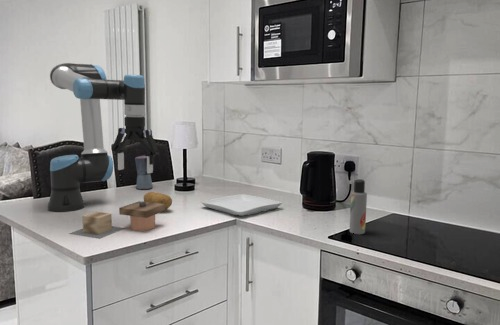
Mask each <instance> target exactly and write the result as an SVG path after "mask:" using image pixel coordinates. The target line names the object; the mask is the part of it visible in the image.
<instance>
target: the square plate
mask: <svg viewBox="0 0 500 325" xmlns="http://www.w3.org/2000/svg"><path fill="white" fill-rule="evenodd" d="M200 203H201V205H203V206H204V207H206V208H208V209H212V210H216V211H219V212H223V213H225V214H229V215H234V216H237V215H239V217H241V216H242V217H243V216H244V215H246V216H250V215H254V214H253V213H255V214H258V213H257V212H259V213H262V212H261V211H263V212H266V211H265V210H267V211H270V210H272V209H276V208H278V207H280V206H281V205H282V204H283V202H282V201H278V200H275V199H270V198H266V197H262V196H255V195H249V194H243V193H242V194H241V193H239V194H234V195H227V196H221V197H215V198H212V199H206V200H202V201H200ZM269 209H270V210H269ZM249 214H250V215H249ZM244 217H245V216H244Z"/></svg>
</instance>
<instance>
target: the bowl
mask: <svg viewBox="0 0 500 325" xmlns="http://www.w3.org/2000/svg"><path fill="white" fill-rule="evenodd" d="M129 218H130V222H129V224H130V229H131V230H134V231H148V230H153V229H154V228H156V225H157V224H156V214H155V215H153V216H150V217H148V218H143V217H135V216H129Z"/></svg>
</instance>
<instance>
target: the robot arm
mask: <svg viewBox="0 0 500 325" xmlns="http://www.w3.org/2000/svg"><path fill="white" fill-rule="evenodd" d="M49 78H50V79H49V80H50V81H51V82H50V83H51V84H53V86H54V87H56V88H58V89H59V90H68V91H70V92H72V93H73V95H74V96H75V98H76V99H79V102H80V113H81V124H82V125H81V126H82V127H81V128H82V139H83V141H82V142H83V151H82V152H81V153H80V154H81V155H80V157H79V155H77V154H67V155H62V156H61V155H60V156H56V157H54V158H52V159H50V163H49V164H50V165H49V171H50V189H51V191H50V197H49V201H48V203H47V210H48V211H50V212H60V213H61V212H72V211H77V210H81V209H83V208H85V201H84V199H83V195H82V192H81V189H80V185H81V184H86V183H87V184H88V183H97V182H104V181H108V180H109V179H110V178H111V176H112V175H113V171H114V160H113V158H112V156H111V155H109V154H108V151H107V150H106V149H105V148H104V136H103V123H102V110H101V108H102V107H101V100H115V101H116V100H117V101H120V100H122V101H123V107H124V109H123V110H124V115H125V116H124V121H123V122H124V127H119V128H118V129H117V135H116V138H115V140H114V143H113V145H112V147H111V151H112V152H115V153H116V156H115V157H116V159H115V160H116V162H117V170H118V171H122V170H124V169H125V154H124V153H125V152H123V151H124V150H125V149H126V147H127V145H128V144H129V143H130V141H133V142H134V141H135V142H136V141H137V142H138V143H140V145H141V146H142V147H143V149H144V150H145V152H146V153H147V173H150V174H152V173H154V172H153V171H154V165H155V156H157V155H160V152H159V149H158V147H157V144H156V142H155V139H154V136H153V131H152V129H145V126H146V118H145V115H146V107H145V106H146V104H145V102H146V101H145V100H146V98H145V94H146V92H145V91H146V85H145V84H146V83H145V76H144V75H141V74H125V75H124V76H123V79H121V80H120V79H107V74H106V73H105V71H104V69H103V68H102V67H101V66H99V65H97V64H92V63H91V64H87V63H86V64H84V63H71V62H64V63H59V64H57V65H56V66H54V67H53V68H52V69H51V70H50V73H49Z"/></svg>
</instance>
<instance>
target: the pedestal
mask: <svg viewBox="0 0 500 325" xmlns="http://www.w3.org/2000/svg"><path fill="white" fill-rule="evenodd" d="M112 218H113V217H112V213H108V212H103V211H95V212H91V213H88V214H85V215H82V229H83V232H85V233H92V234H98V235H99V234H101V233H104V232H107V231H109V230H112V226H113V222H112Z"/></svg>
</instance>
